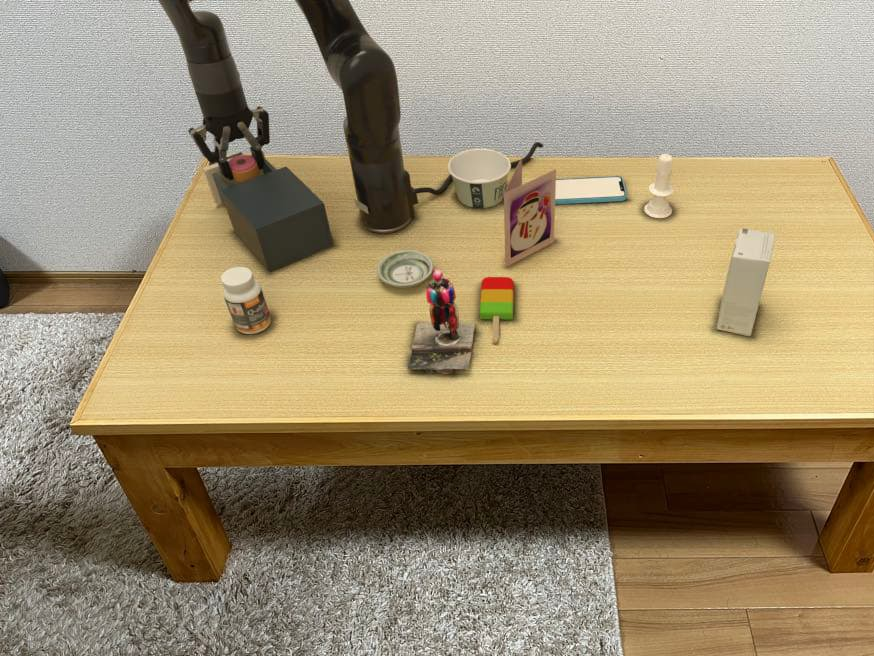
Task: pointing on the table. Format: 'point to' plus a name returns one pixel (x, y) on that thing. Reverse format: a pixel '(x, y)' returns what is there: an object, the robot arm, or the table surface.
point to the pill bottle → (245, 300)
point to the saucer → (405, 268)
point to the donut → (243, 168)
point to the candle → (661, 189)
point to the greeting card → (528, 214)
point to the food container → (479, 176)
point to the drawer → (220, 182)
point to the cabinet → (278, 218)
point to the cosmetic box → (745, 281)
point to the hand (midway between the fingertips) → (244, 172)
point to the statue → (442, 332)
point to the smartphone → (590, 190)
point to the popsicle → (496, 301)
